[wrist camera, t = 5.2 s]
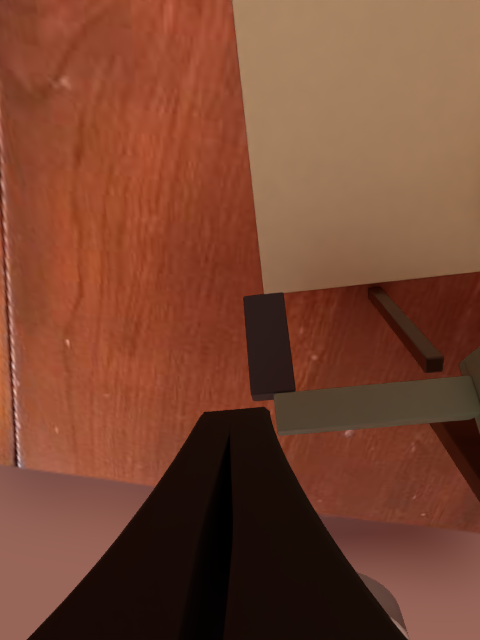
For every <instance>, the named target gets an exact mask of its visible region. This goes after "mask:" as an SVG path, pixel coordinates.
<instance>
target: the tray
mask: <svg viewBox="0 0 480 640" xmlns="http://www.w3.org/2000/svg"><path fill="white" fill-rule="evenodd" d="M243 301H244V314H245V327H246V339H247V352H248V365H249V377H250V390H251V396H252V398H253V401H263V400H274V405H275V415H276V425H277V433H278V435H279V436H283V435H295V434H307V433H318V432H330V431H342V430H354V429H365V428H377V427H389V426H401V425H412V424H424V423H436V422H448V421H459V420H470V419H472V418H474V417H475V420H476V423H477V426H478V430H479V433H480V346H479V347H478V348H477V349H476V350H475V351H473V352H472V353H471V354H470V355H468V356H467V357H466V358H465V359H464V360H462V361H461V362H460V363H459V367H460V371H461V374H462V376H458V377H447V378H437V379H426V380H415V381H404V382H393V383H383V384H372V385H361V386H350V387H339V388H328V389H318V390H307V391H296V388H295V380H294V373H293V365H292V357H291V349H290V341H289V333H288V325H287V317H286V309H285V301H284V294H283V292H279V293H270V294H261V295H252V296H244V298H243ZM295 391H296V392H295Z"/></svg>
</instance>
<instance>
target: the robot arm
mask: <svg viewBox="0 0 480 640" xmlns="http://www.w3.org/2000/svg"><path fill="white" fill-rule="evenodd" d="M27 640H408V639H407V638H406V637H405V636H404V634H403V633H402V632H401V631H400V630H399V628H398V627H397V626H396V624H395V623H394V622H393V621H392V619H391V618H390V617H389V615H388V614H387V613H386V611H385V610H384V609H383V608H382V606H381V605H380V604H379V602H378V601H377V600H376V598H375V597H374V596H373V594H372V593H371V592H370V590H369V589H368V588H367V587H366V585H365V584H364V582H363V581H362V580H361V578H360V577H359V575H358V574H357V573H356V572H355V570H354V569H353V567H352V566H351V564H350V563H349V562H348V560H347V559H346V558H345V556H344V555H343V553H342V552H341V550H340V549H339V547H338V546H337V544H336V543H335V541H334V540H333V538H332V537H331V535H330V534H329V532H328V531H327V529H326V527H325V526H324V524H323V523H322V521H321V519H320V518H319V516H318V515H317V513H316V511H315V510H314V508H313V507H312V505H311V503H310V501H309V500H308V498H307V496H306V495H305V493H304V491H303V489H302V488H301V486H300V484H299V482H298V480H297V478H296V476H295V474H294V473H293V471H292V469H291V467H290V465H289V463H288V461H287V459H286V457H285V455H284V453H283V450H282V448H281V446H280V443H279V441H278V439H277V436H276V433H275V431H274V428H273V425H272V421H271V417H270V411H269V410H267V409H266V408H265V407H258V408H246V409H235V410H223V411H212V412H204V413H203V414H202V415H201V417H200V418H199V420H198V421H197V423H196V425H195V426H194V428H193V430H192V431H191V433H190V435H189V436H188V438H187V440H186V441H185V443H184V445H183V446H182V448H181V449H180V451H179V452H178V454H177V456H176V457H175V459H174V460H173V462H172V463H171V465H170V466H169V468H168V469H167V471H166V472H165V474H164V475H163V477H162V478H161V480H160V481H159V482H158V484H157V485H156V487H155V488H154V490H153V491H152V493H151V494H150V495H149V497H148V498H147V500H146V501H145V502H144V504H143V505H142V506H141V508H140V509H139V510H138V511H137V513H136V514H135V515H134V517H133V518H132V520H131V521H130V522H129V523H128V525H127V526H126V527H125V529H124V530H123V531H122V533H121V534H120V535H119V537H118V538H117V539H116V540H115V542H114V543H113V544H112V545H111V546H110V548H109V549H108V550H107V551H106V553H105V554H104V555H103V556H102V557H101V559H100V560H99V561H98V562H97V563H96V565H95V566H94V567H93V568H92V569H91V571H90V572H89V573H88V574H87V575H86V576H85V577H84V578H83V580H82V581H81V582H80V583H79V584H78V585H77V586H76V587H75V589H74V590H73V591H72V592H71V593H70V594H69V595H68V597H67V598H66V599H65V600H64V601H63V602H62V603H61V604H60V605H59V606H58V607H57V609H56V610H55V611H54V612H53V613H52V614H51V615H50V616H49V617H48V618H47V619H46V620H45V621H44V622H43V623H42V624H41V625H40V626H39V627H38V628H37V630H36V631H35V632H34V633H33V634H32V635H31V636H30V637H29V638H28V639H27Z"/></svg>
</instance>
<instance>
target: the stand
mask: <svg viewBox="0 0 480 640" xmlns="http://www.w3.org/2000/svg"><path fill="white" fill-rule="evenodd" d="M368 298H369V300H370V301H371V302H372V304H373V305H374V306H375V308H376V309H377V310H378V312H379V313H380V314H381V315H382V317H383V318H384V319H385V321H386V322H387V323H388V325H389V326H390V327H391V329H392V330H393V331H394V332H395V334H396V335H397V336H398V338H399V339H400V340H401V342H402V343H403V344H404V346H405V347H406V348H407V349H408V351H409V352H410V353H411V355H412V356H413V357H414V359H415V360H416V361H417V363H418V364H419V365H420V366H421V368H422V369H423V370H424V372H425V373H433V372H442V371H443V363H444V357H443V355H442V354H441V353H440V352H439V351H438V350H437V349H436V348H435V346H434V345H433V344H432V343H431V342H430V341H429V340H428V339H427V338H426V337H425V335H424V334H423V333H422V332H421V331H420V330H419V329H418V328H417V327H416V326H415V324H414V323H413V322H412V321H411V320H410V319H409V318H408V317H407V316H406V315H405V313H404V312H403V311H402V310H401V309H400V308H399V307H398V306H397V305H396V304H395V302H394V301H393V300H392V299H391V298H390V297H389V296H388V295H387V294H386V293H385V292H384V290H383V289H382V288H381V287H372V288H369V289H368ZM429 424H430V425H431V427H432V428H433V430H434V432H435V433H436V435H437V436H438V438H439V439H440V441H441V442H442V444H443V446H444V447H445V449H446V450H447V452H448V453H449V455H450V456H451V458H452V460H453V461H454V463H455V464H456V466H457V467H458V469H459V471H460V472H461V474H462V475H463V477H464V478H465V480H466V481H467V483H468V485H469V486H470V488H471V489H472V491H473V492H474V494H475V496H476V497H477V499H478V500H479V502H480V433H479V430H478V426H477V423H476V420H475V417H474V418H472V419H470V420H459V421H448V422H436V423H429Z"/></svg>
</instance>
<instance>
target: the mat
mask: <svg viewBox="0 0 480 640" xmlns="http://www.w3.org/2000/svg"><path fill="white" fill-rule="evenodd" d="M232 4H233V13H234V22H235V32H236V41H237V50H238V59H239V68H240V78H241V87H242V96H243V105H244V114H245V124H246V133H247V142H248V151H249V160H250V170H251V179H252V188H253V197H254V206H255V216H256V225H257V234H258V243H259V252H260V262H261V271H262V280H263V289H264V294H270V293H279V292H283V293H289V292H298V291H307V290H316V289H326V288H335V287H344V286H353V285H362V284H371V283H380V282H389V281H398V280H407V279H416V278H425V277H435V276H444V275H453V274H462V273H471V272H480V0H232Z"/></svg>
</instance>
